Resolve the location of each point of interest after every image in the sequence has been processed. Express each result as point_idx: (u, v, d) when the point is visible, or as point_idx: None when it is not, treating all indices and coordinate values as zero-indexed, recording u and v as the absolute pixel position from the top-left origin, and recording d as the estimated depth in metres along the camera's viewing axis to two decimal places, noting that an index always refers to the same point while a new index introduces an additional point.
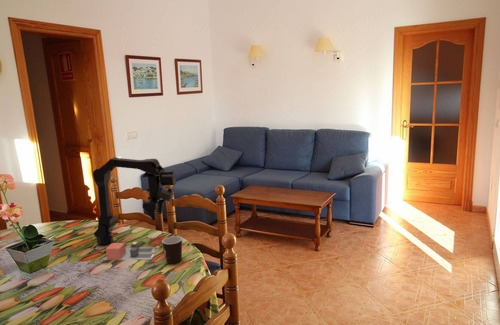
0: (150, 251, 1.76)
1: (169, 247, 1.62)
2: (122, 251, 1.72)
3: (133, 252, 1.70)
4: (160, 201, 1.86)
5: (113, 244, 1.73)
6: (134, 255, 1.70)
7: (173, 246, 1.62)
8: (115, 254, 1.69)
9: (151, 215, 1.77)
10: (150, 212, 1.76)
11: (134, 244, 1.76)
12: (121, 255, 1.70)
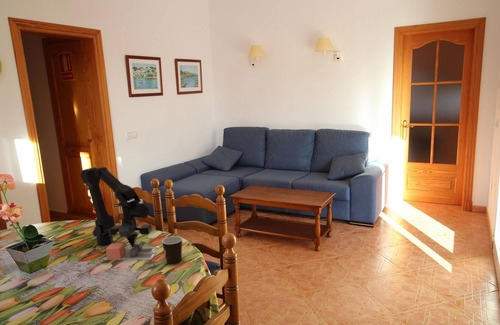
0: (150, 251, 1.76)
1: (169, 247, 1.62)
2: (122, 251, 1.72)
3: (133, 252, 1.70)
4: None
5: (113, 244, 1.73)
6: (134, 255, 1.70)
7: (173, 246, 1.62)
8: (115, 254, 1.69)
9: None
10: None
11: (137, 244, 1.76)
12: (121, 255, 1.70)
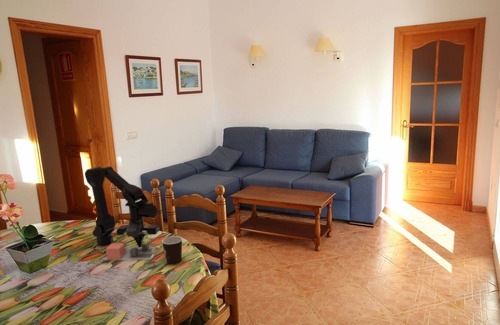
0: (150, 251, 1.76)
1: (169, 247, 1.62)
2: (122, 251, 1.72)
3: (133, 252, 1.70)
4: None
5: (113, 244, 1.73)
6: (134, 255, 1.70)
7: (173, 246, 1.62)
8: (115, 254, 1.69)
9: None
10: None
11: (144, 244, 1.76)
12: (121, 255, 1.70)
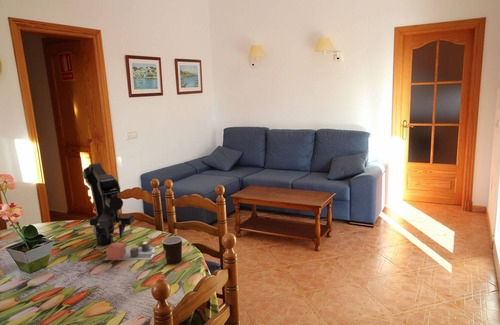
0: (150, 251, 1.76)
1: (169, 247, 1.62)
2: (122, 251, 1.72)
3: (133, 252, 1.70)
4: None
5: (113, 244, 1.73)
6: (134, 255, 1.70)
7: (173, 246, 1.62)
8: (115, 254, 1.69)
9: None
10: None
11: (144, 244, 1.76)
12: (121, 255, 1.70)
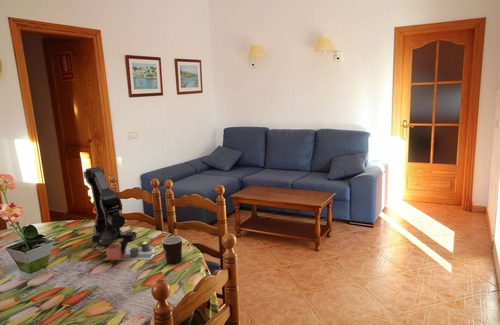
0: (150, 251, 1.76)
1: (169, 247, 1.62)
2: None
3: (133, 252, 1.70)
4: None
5: (113, 244, 1.73)
6: (134, 255, 1.70)
7: (173, 246, 1.62)
8: (115, 254, 1.69)
9: None
10: None
11: (144, 244, 1.76)
12: (121, 255, 1.70)
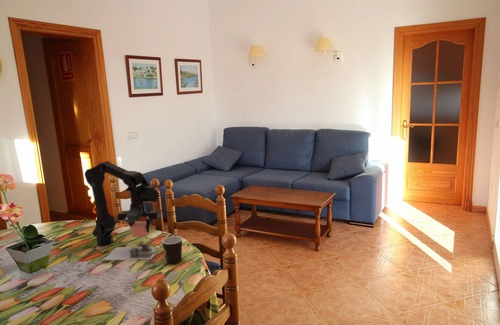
0: (150, 251, 1.76)
1: (169, 247, 1.62)
2: None
3: (133, 252, 1.70)
4: None
5: (137, 223, 1.75)
6: (134, 255, 1.70)
7: (173, 246, 1.62)
8: (140, 232, 1.72)
9: None
10: None
11: (144, 244, 1.76)
12: (146, 233, 1.73)
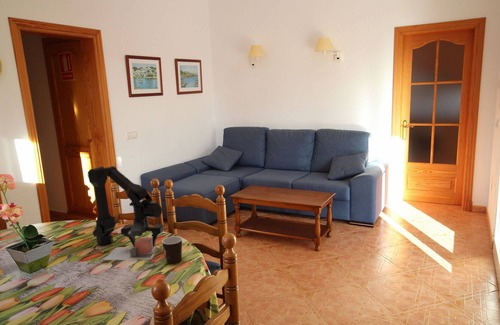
0: (150, 251, 1.76)
1: (169, 247, 1.62)
2: (150, 245, 1.76)
3: (133, 252, 1.70)
4: None
5: (140, 239, 1.78)
6: (134, 255, 1.70)
7: (173, 246, 1.62)
8: (143, 248, 1.74)
9: None
10: None
11: None
12: (149, 249, 1.75)
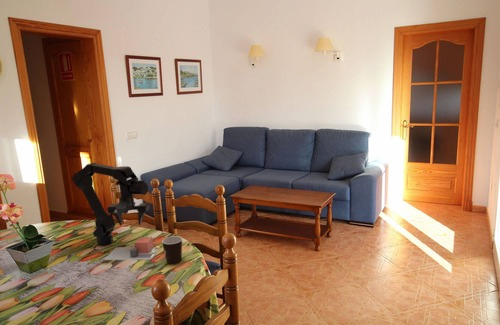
0: (150, 251, 1.76)
1: (169, 247, 1.62)
2: (150, 245, 1.76)
3: (133, 252, 1.70)
4: None
5: (140, 239, 1.78)
6: (134, 255, 1.70)
7: (173, 246, 1.62)
8: (143, 248, 1.74)
9: None
10: None
11: None
12: (149, 249, 1.75)
